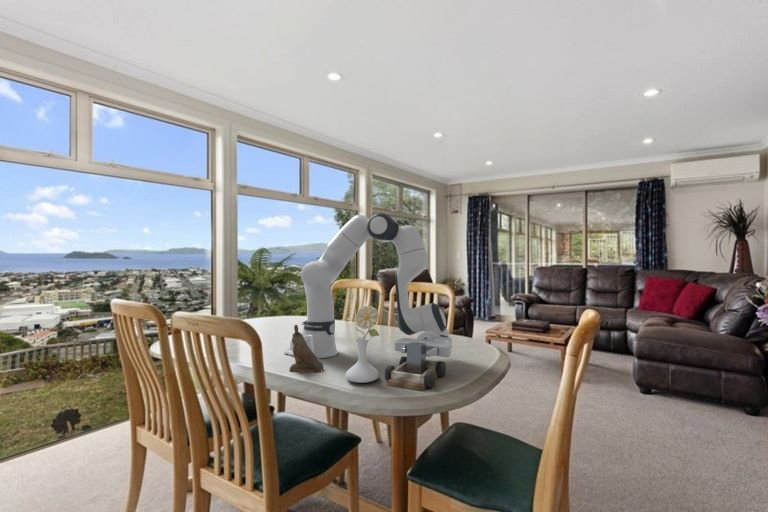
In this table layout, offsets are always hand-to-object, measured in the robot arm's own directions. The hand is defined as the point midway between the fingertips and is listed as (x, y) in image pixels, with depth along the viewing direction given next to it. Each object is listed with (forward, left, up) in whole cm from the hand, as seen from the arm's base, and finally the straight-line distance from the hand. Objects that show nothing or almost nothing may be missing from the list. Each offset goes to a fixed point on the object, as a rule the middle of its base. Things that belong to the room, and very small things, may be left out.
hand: (415, 352), depth 125 cm
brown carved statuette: (-39, -7, -9) cm, 41 cm away
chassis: (0, +1, -9) cm, 9 cm away
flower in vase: (-15, -8, -9) cm, 19 cm away
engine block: (0, +1, -7) cm, 8 cm away
